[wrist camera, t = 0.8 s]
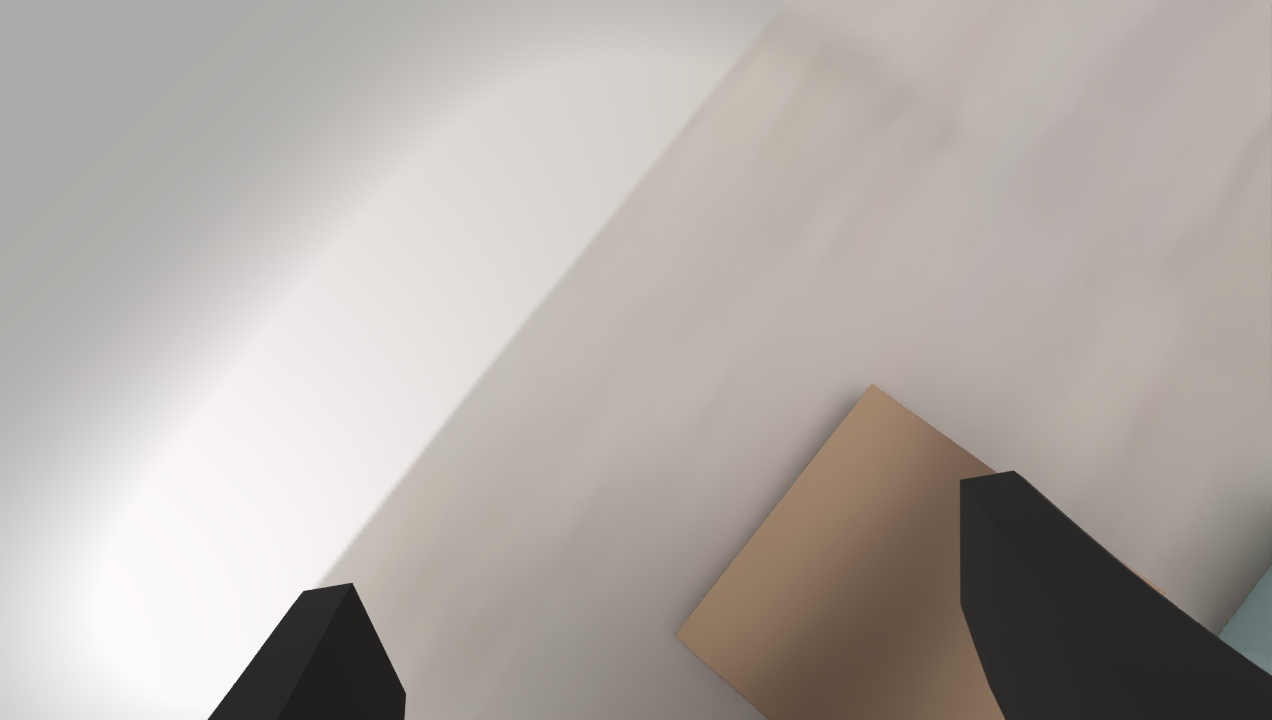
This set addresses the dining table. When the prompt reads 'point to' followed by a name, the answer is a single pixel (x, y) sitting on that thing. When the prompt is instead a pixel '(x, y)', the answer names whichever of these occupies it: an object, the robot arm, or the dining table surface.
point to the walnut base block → (855, 584)
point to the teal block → (1253, 625)
